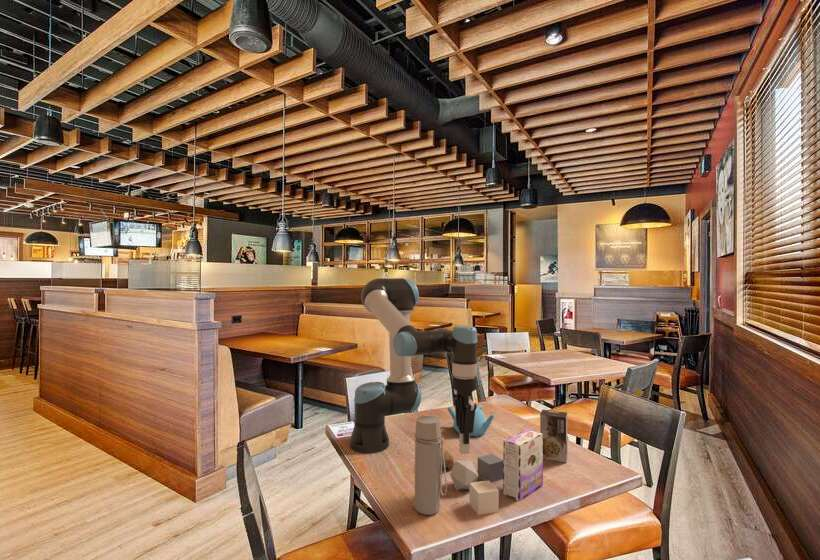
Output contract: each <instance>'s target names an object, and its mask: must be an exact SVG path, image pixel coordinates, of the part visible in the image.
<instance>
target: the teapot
mask: <svg viewBox="0 0 820 560" xmlns="http://www.w3.org/2000/svg"><path fill="white" fill-rule="evenodd" d="M447 412H448V413H449V414H450V416H451V418H452V419H453V423H452V424H453V425H452V426H453V429H454V431H456V433H457V434H459V435H460V431H459V426H458V427H457V425H456V413H455V408H453V406H450V407H448V408H447ZM495 416H496V415H495V414H489V416H488V418H486V416H485V414H484V412H483V406H482V405H481V404H478V405H477V408H476V411H475V418H474V427H473V433H470V437H472V436H474V437H481V436H482V435H484V434H485V433H486V432H487V431H488V429H489V428H490V426H491V424H492V422H493V420H494V418H495ZM480 435H481V436H480Z"/></svg>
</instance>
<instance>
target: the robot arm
mask: <svg viewBox="0 0 820 560" xmlns="http://www.w3.org/2000/svg"><path fill="white" fill-rule="evenodd" d="M419 294H420V293H419V289H418V286H417V284H416V283H415V282H414V281H413V280H412V279H409V278H403V277H402V278H401V277H400V278H398V277H397V278H395V277H393V278H385V277H384V278H383V277H380V278H379V277H378V278H373V279H371V280H369V281H368V282H367V283H366V284H365V285H364V287H363V288H362V290H361V295H360V300H361V303H362V305H363V307H364V308H365V310H367V312H369V313H372V314H373V315H374V316H375V318H377V319H378V321H379V322H380V324H381V325H383V327H384V328H385V329H386V330H387V332H388V335H389V336H388V337H389V338H388V339H389V376H388V377H387V379H386V384H385V383H384V382H381V381H370V382H366V383H362V384H360V385H359V386H358V387H357V388H355V391H354V398H353V401H354V423H353V424H354V425H353V429H352V433H351V434H350V435H351V436H350V437H349V438H350V439H349V448H350V449H351V450H352V451H353V452H356V453H360V454H361V453H362V454H374V453H380V452H383V451H385V450H387V448H389V446H390V437H389V434H388V430H387V428H386V425H385V423H386V420H385V417H390V416H395V415H401V414H409V413H412V412H415V411H416V410H417V409H419V407H420V405H421V402H422V399H423V398H422V397H423V396H422V393H423V391H422V389H421V386H420V383H418V382H417V381H416V378H415V377H414V376H413V375H412V356H413V357H414V356H422V355H423V356H424V355H435V354H450V355H452V362H451V364H452V366H451V369H452V372H451V373H452V374H451V375H452V381H451V382H452V385H451V386H452V389H453V390H454V391H456V393H454V394H453V400H454V411H455V413H456V425H457V427H458V426H459V431H460V434H459V447H458V448H459V451H458V452H459V453H460V454H461V455H468V454H470V437H471V436H470V433H473V427H474V418H475V411H476V408H477V406H478V405H477V403H474V402H473V401H474V400H473V399H474V397H473V392H474V391H476V390H477V388H478V378H477V375H478V372H477V371H478V369H477V368H479V366H478V364H477V363H478V334H477V333H478V331H477V328H476V327H475V326H473V325H455V326H453V328H452V330H451V329H447V328H436V329H434V330H417V329H416V327H415V326H414V325H413V324H412V323H411V315H412V314H413V313H414V307H416V306H417V305H418V304H419V301H420V295H419Z"/></svg>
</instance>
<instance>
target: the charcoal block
mask: <svg viewBox="0 0 820 560" xmlns="http://www.w3.org/2000/svg"><path fill="white" fill-rule="evenodd" d="M477 473H478V475H479V476H478V478H481V479H482V480H483V481H488V480H489V481H490V482H491V483H492V484H493V483H495V482H499V481H501V480H502V481H503V459H502V458H500V457H499V456H497V455H495V454H493V453H489V454H486V455H482V456H479V457H477Z"/></svg>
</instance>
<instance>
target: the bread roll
mask: <svg viewBox="0 0 820 560" xmlns="http://www.w3.org/2000/svg"><path fill="white" fill-rule="evenodd" d="M441 450H442V447H440V474H441ZM443 451H444V460H445V470H446V473H448V472H449V471H451V470H452V468H453V465H454V463H455V461H454V458H453V456H452V454H451V453H449V451H448V450H446V449H445V448H443ZM443 451H442V474H443V473H444V474H445V472H444V462H443Z"/></svg>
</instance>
